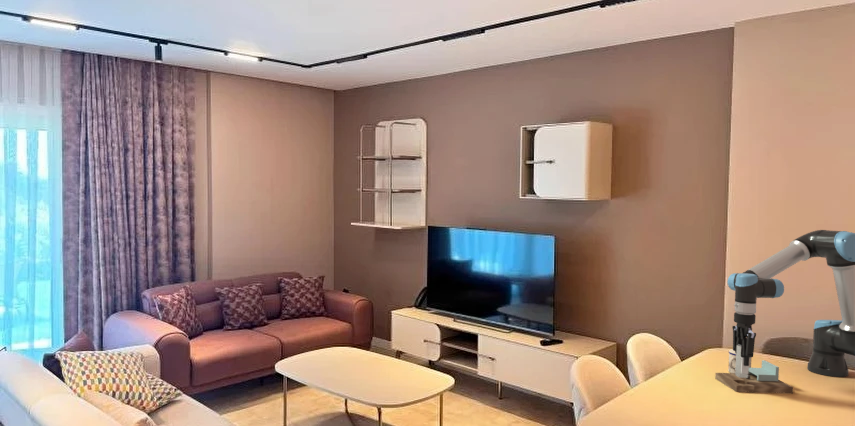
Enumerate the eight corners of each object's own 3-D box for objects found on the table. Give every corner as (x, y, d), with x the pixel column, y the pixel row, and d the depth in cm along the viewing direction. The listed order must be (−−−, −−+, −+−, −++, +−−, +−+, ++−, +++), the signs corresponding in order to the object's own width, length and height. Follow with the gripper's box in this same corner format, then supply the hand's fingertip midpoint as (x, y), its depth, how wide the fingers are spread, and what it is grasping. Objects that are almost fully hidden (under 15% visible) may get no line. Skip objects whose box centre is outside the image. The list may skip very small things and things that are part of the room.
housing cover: (764, 373, 252) (764, 360, 252) (778, 381, 242) (779, 367, 242) (744, 373, 252) (745, 359, 252) (758, 380, 242) (759, 366, 242)
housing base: (767, 380, 253) (768, 370, 252) (792, 393, 236) (793, 383, 235) (715, 378, 252) (715, 369, 252) (736, 392, 235) (736, 381, 235)
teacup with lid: (735, 368, 269) (736, 342, 268) (755, 374, 261) (757, 347, 261) (719, 372, 262) (720, 345, 262) (739, 378, 254) (741, 350, 254)
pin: (743, 375, 242) (744, 343, 241) (747, 377, 239) (749, 345, 238) (735, 375, 242) (736, 343, 241) (739, 377, 239) (741, 345, 238)
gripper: (725, 308, 248) (722, 365, 248) (746, 316, 231) (743, 377, 232) (743, 309, 248) (740, 366, 248) (766, 317, 231) (762, 378, 232)
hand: (741, 371), depth 240 cm, fingers closed on pin, 3 cm apart
